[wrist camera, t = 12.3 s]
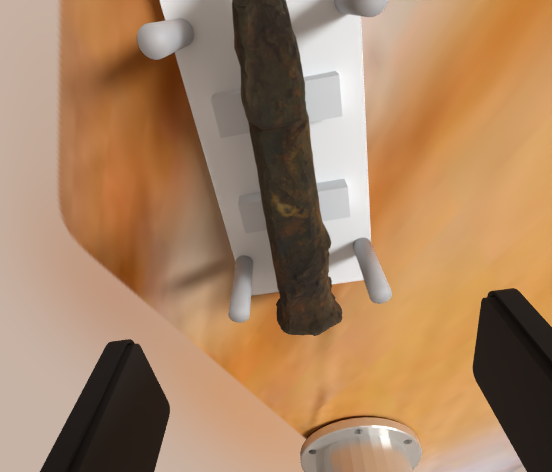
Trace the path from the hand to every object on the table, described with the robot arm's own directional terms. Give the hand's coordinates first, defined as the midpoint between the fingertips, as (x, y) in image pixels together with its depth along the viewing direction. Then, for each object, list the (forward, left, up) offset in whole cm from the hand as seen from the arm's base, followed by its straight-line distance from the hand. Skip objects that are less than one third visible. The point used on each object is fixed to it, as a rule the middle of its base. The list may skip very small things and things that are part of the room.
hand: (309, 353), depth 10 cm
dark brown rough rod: (+1, +1, -13) cm, 12 cm away
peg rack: (+1, 0, -14) cm, 14 cm away
